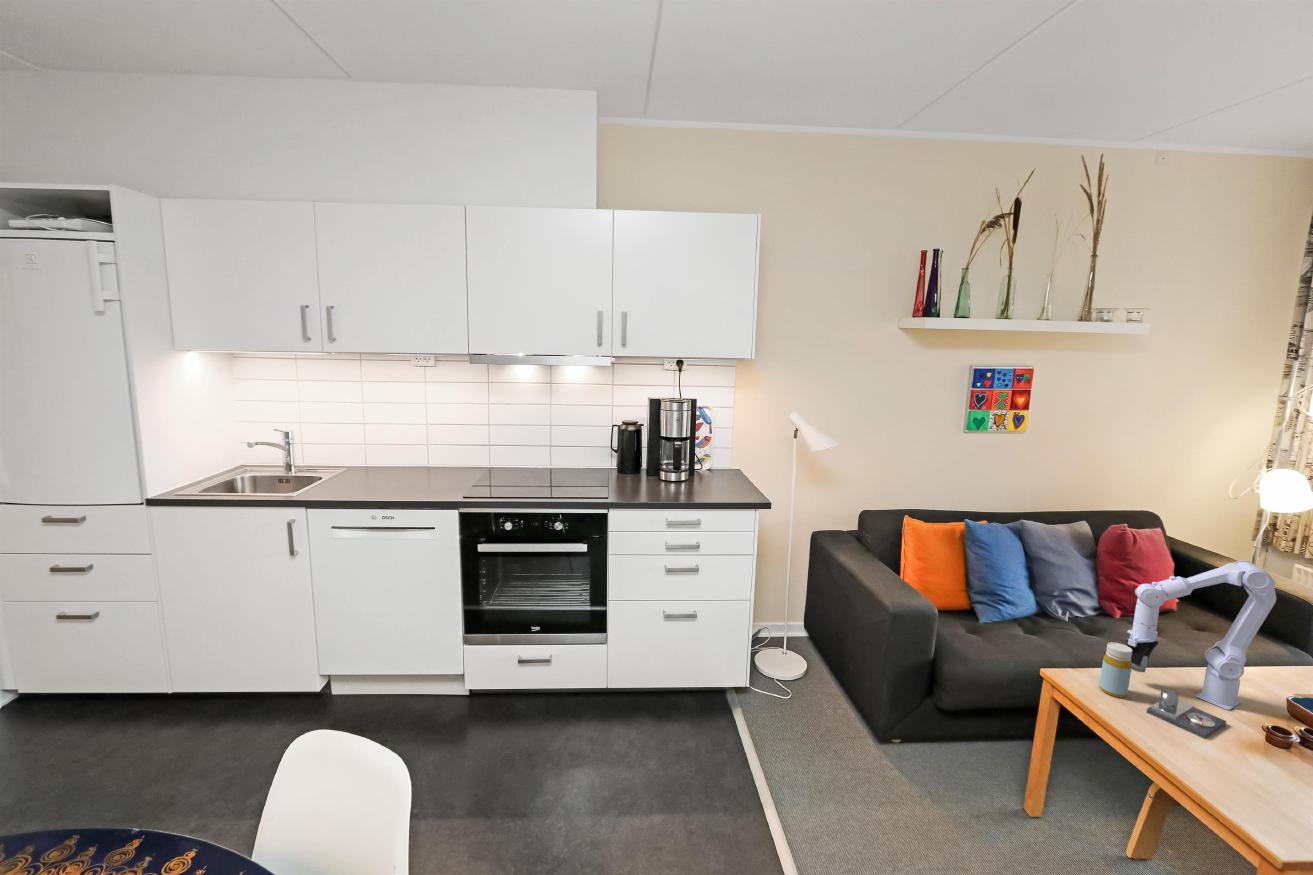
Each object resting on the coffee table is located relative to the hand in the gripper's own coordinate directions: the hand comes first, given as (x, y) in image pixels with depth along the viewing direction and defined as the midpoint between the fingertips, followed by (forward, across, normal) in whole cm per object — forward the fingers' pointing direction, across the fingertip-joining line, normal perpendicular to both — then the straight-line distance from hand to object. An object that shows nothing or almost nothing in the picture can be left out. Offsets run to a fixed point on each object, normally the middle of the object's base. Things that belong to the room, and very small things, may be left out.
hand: (1139, 662), depth 192 cm
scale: (+7, +9, +16) cm, 20 cm away
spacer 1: (+2, 0, 0) cm, 2 cm away
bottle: (+7, +13, -1) cm, 15 cm away
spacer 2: (+5, +13, +13) cm, 19 cm away
